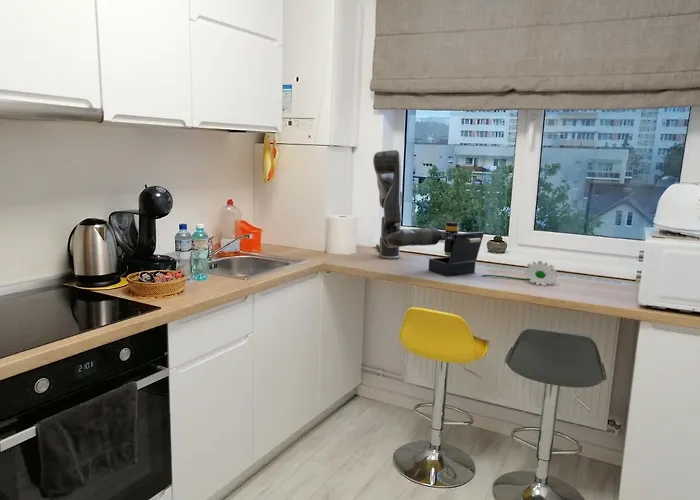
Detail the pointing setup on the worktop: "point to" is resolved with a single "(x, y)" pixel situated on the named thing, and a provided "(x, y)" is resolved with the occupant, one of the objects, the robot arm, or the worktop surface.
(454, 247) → the lid
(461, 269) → the black box
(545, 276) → the flower
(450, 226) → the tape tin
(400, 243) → the robot arm
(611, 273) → the worktop surface
